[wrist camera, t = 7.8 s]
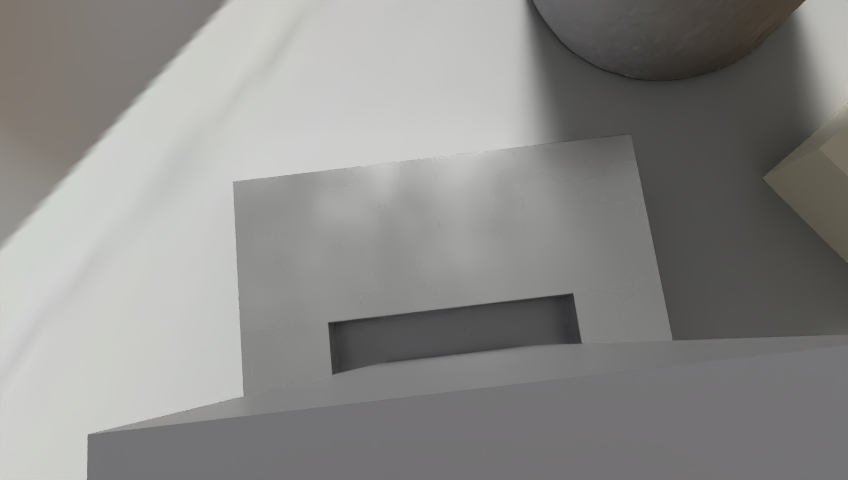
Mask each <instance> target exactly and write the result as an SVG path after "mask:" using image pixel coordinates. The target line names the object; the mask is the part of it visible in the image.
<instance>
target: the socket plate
mask: <svg viewBox="0 0 848 480" xmlns="http://www.w3.org/2000/svg"><path fill="white" fill-rule="evenodd" d="M233 188H234V209H235V229H236V249H237V269H238V289H239V309H240V330H241V350H242V370H243V390H244V396H248V395H252V394H256V393H260V392H264V391H268V390H272V389H276V388H280V387H284V386H289V385H293V384H297V383H301V382H305V381H309V380H313V379H317V378H321V377H325V376H329V375H334V374H338V373H342V372H346V371H350V370H354V369H358V368H362V367H366V366H370V365H375V364H380V363H388V362H396V361H405V360H413V359H422V358H430V357H439V356H447V355H456V354H464V353H473V352H481V351H489V350H498V349H506V348H515V347H523V346H532V345H556V344H585V343H614V342H643V341H673V338H672V334H671V329H670V324H669V319H668V314H667V309H666V304H665V299H664V294H663V289H662V284H661V279H660V275H659V270H658V265H657V260H656V255H655V250H654V245H653V240H652V235H651V230H650V225H649V220H648V216H647V211H646V206H645V201H644V196H643V191H642V186H641V181H640V176H639V171H638V166H637V162H636V157H635V152H634V147H633V142H632V137H631V134H624V135H616V136H608V137H599V138H591V139H583V140H575V141H566V142H558V143H550V144H542V145H533V146H525V147H517V148H508V149H500V150H492V151H484V152H475V153H467V154H459V155H451V156H442V157H434V158H426V159H417V160H409V161H401V162H393V163H384V164H376V165H368V166H360V167H351V168H343V169H335V170H327V171H318V172H310V173H302V174H293V175H285V176H277V177H269V178H260V179H252V180H244V181H236V182H233Z"/></svg>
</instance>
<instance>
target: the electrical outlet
mask: <svg viewBox="0 0 848 480" xmlns="http://www.w3.org/2000/svg"><path fill="white" fill-rule="evenodd" d="M762 179H763V180H764V181H765V182H766V183H767V184H768V185H769V186H770V187H771V188H772V189H773V190H774V191H775V192H776V193H777V194H778V195H779V196H780V197H781V198H782V199H783V200H784V201H785V202H786V203H787V204H788V205H789V206H790V207H791V208H792V209H793V210H794V211H795V212H796V213H797V214H798V215H799V216H800V217H801V218H802V219H803V220H804V221H805V222H806V223H807V224H808V225H809V226H810V227H811V228H812V229H813V230H814V231H815V232H816V233H817V234H818V235H819V236H820V237H821V238H822V239H823V240H824V241H825V242H826V243H827V244H828V245H829V246H830V247H831V248H832V249H833V250H834V251H835V252H836V253H837V254H838V255H839V256H840V257H841V258H842V259H843V260H844V261H845V262H846V263H847V264H848V103H847V104H846V105H845V106H844V107H843V108H842V109H841V110H839V111H838V112H837V113H836V114H835V115H834V116H833V117H831V118H830V119H829V120H828V121H827V122H826V123H825V124H823V125H822V126H821V127H820V128H819V129H818V130H816V131H815V132H814V133H813V134H812V135H811V136H810V137H808V138H807V139H806V140H805V141H804V142H803V143H802V144H800V145H799V146H798V147H797V148H796V149H795V150H794V151H792V152H791V153H790V154H789V155H788V156H787V157H785V158H784V159H783V160H782V161H781V162H780V163H779V164H777V165H776V166H775V167H774V168H773V169H772V170H771V171H769V172H768V173H767V174H766V175H765V176H764V177H762Z"/></svg>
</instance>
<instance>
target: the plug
mask: <svg viewBox="0 0 848 480" xmlns="http://www.w3.org/2000/svg"><path fill="white" fill-rule="evenodd" d="M87 480H848V334H847V335H818V336H789V337H760V338H731V339H702V340H673V341H643V342H614V343H585V344H556V345H532V346H523V347H515V348H506V349H498V350H489V351H481V352H473V353H464V354H456V355H447V356H439V357H430V358H422V359H413V360H405V361H396V362H388V363H380V364H375V365H370V366H366V367H362V368H358V369H354V370H350V371H346V372H342V373H338V374H334V375H329V376H325V377H321V378H317V379H313V380H309V381H305V382H301V383H297V384H293V385H289V386H284V387H280V388H276V389H272V390H268V391H264V392H260V393H256V394H252V395H248V396H244V397H239V398H235V399H231V400H227V401H223V402H219V403H215V404H211V405H207V406H203V407H199V408H194V409H190V410H186V411H182V412H178V413H174V414H170V415H166V416H162V417H158V418H153V419H149V420H145V421H141V422H137V423H133V424H129V425H125V426H121V427H117V428H113V429H108V430H104V431H100V432H96V433H92V434H88V461H87Z"/></svg>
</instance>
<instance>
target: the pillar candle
mask: <svg viewBox="0 0 848 480" xmlns="http://www.w3.org/2000/svg"><path fill="white" fill-rule="evenodd" d="M804 1H805V0H533V2H534V4H535V6H536V8H537V9H538V12H539V13H540V15H541V16H542V17H543V19H544V20H545V22H546V23H547V24H548V26H549V27H550V28H551V29H552V30H553V32H554V33H555V34H556V36H557V37H558V38H559V39H560V41H561V42H563V43H564V45H566V46H567V47H568V48H569V49H570V50H571V51H572V52H574V53H575V54H577V55H578V56H580V57H581V58H583V59H584V60H585V61H588V62H589V63H591V64H593V65H595V66H596V67H599V68H601V69H604V70H606V71H610V72H614V73H617V74H621V75H624V76H627V77H631V78H635V79H643V80H673V79H683V78H687V77H693V76H697V75H701V74H705V73H707V72H711V71H713V70H716V69H718V68H723V67H726V66H728V65H730V64H732V63H734V62H735V61H736V60H738V59H740V58H742V57H744V56H745V55H747V54H749V53H750V52H752V51H753V50H754V49H755V48H757V47H758V46H759V45H760V44H761V43H762V42H763V41H764V40H765V39H766V38H767V37H768V36H769V35H770V34H771V33H772V32H774V31H775V30H776V29H777V28H778V27H779V26H780V25H781V23H782V22H783V21H784V20H785V19H786V18H787V17H788V16H789V15H790V14H791V13H792V12H793V11H795V10H796V9H797V8H798V7H799V6H800V5H801V4H802V3H803V2H804Z"/></svg>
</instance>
